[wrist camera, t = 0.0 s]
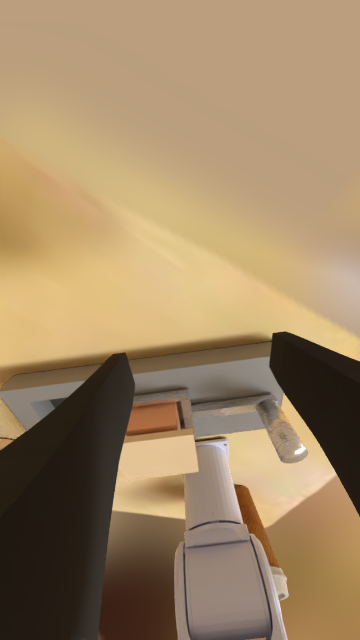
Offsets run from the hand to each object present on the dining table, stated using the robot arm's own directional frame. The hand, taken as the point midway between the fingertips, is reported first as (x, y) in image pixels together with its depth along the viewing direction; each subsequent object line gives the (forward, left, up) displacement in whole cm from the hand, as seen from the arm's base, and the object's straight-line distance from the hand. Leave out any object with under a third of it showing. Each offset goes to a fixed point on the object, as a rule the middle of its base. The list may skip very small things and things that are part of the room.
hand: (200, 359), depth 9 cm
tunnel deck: (-13, +5, -10) cm, 17 cm away
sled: (-13, 0, -7) cm, 15 cm away
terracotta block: (-13, +5, -8) cm, 16 cm away
